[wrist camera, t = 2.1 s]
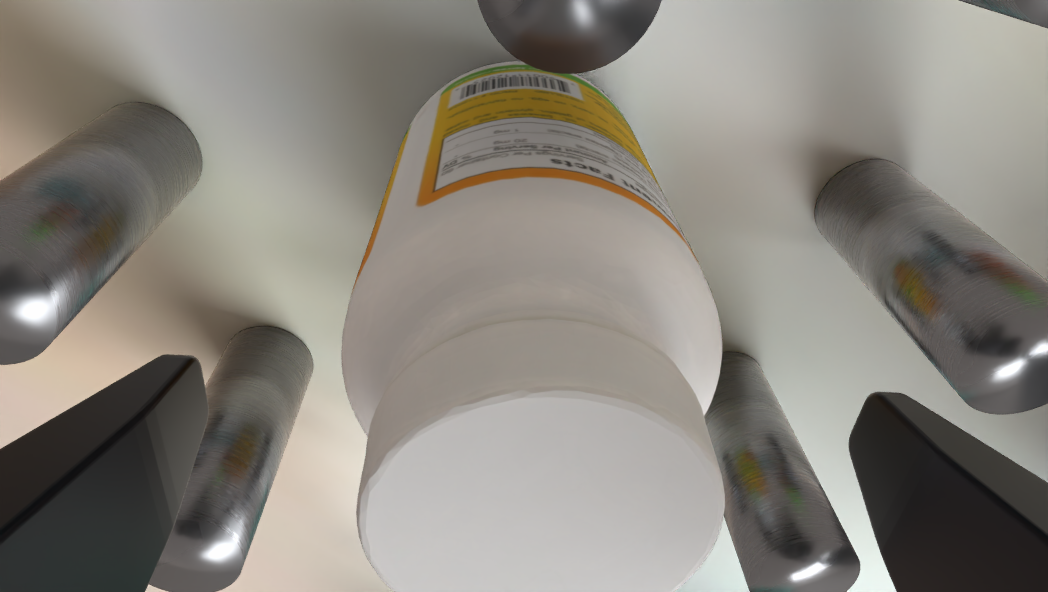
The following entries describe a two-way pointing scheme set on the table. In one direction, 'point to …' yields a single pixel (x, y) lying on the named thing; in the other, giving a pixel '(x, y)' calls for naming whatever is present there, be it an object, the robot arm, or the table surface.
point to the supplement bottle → (531, 353)
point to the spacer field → (742, 390)
